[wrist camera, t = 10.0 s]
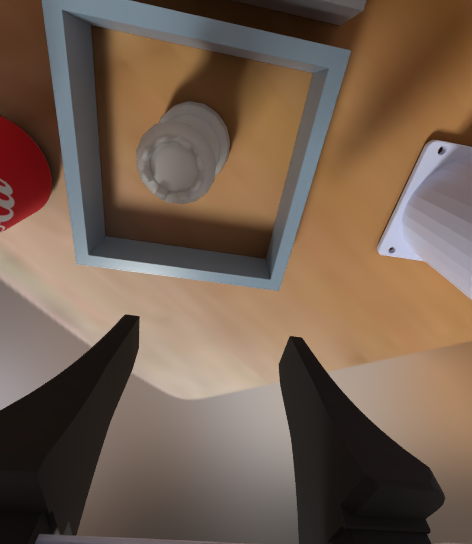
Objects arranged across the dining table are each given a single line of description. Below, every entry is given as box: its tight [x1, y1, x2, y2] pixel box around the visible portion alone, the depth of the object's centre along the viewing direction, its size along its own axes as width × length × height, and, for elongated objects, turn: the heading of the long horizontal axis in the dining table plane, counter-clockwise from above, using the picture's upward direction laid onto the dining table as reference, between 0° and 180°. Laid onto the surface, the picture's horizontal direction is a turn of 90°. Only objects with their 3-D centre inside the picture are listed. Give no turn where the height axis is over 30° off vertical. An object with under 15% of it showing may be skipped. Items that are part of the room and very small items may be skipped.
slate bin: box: [41, 0, 351, 291], centre depth 17 cm, size 14×14×3 cm
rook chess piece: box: [137, 101, 230, 204], centre depth 14 cm, size 4×4×8 cm
